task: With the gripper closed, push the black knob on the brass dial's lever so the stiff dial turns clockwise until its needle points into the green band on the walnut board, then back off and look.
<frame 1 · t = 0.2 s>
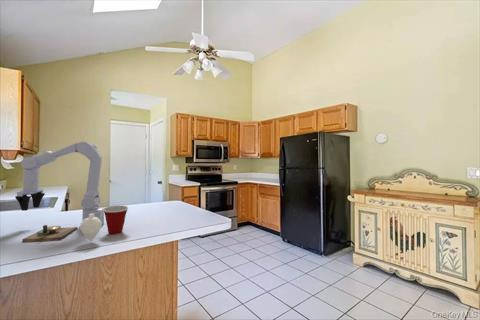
hand: (30, 208, 115), 10 cm above the counter, tool pointing down, fingers open, 7 cm apart
dial board: (52, 235, 106), on the counter
cream vase: (90, 243, 97), on the counter
dial: (50, 226, 104), point 4 cm above the counter, hinge at 0.0°
plastic cup: (115, 233, 111), on the counter
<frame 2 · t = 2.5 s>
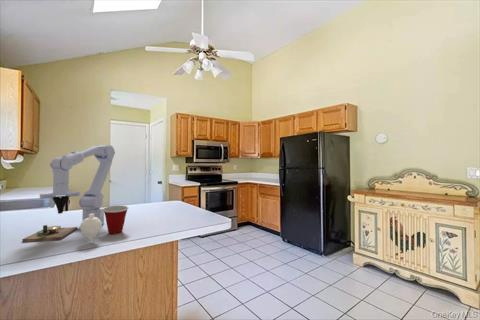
hand: (60, 213, 106), 10 cm above the counter, tool pointing down, fingers closed
nothing on the counter moved.
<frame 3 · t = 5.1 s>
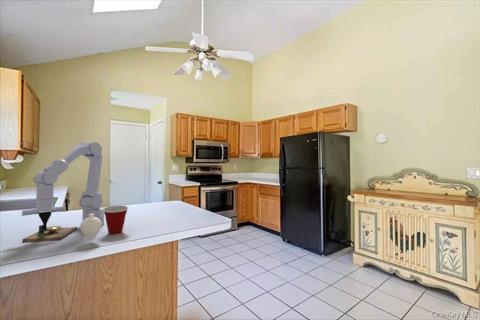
hand: (44, 229, 101), 4 cm above the counter, tool pointing down, fingers closed, pressing on dial
dial: (49, 226, 104), point 4 cm above the counter, hinge at -15.8°, touching gripper
everything else where it was.
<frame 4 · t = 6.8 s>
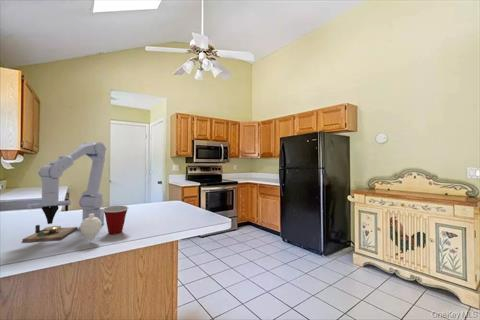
hand: (49, 223, 102), 7 cm above the counter, tool pointing down, fingers closed
dial: (48, 226, 104), point 4 cm above the counter, hinge at -32.8°
everything else where it was.
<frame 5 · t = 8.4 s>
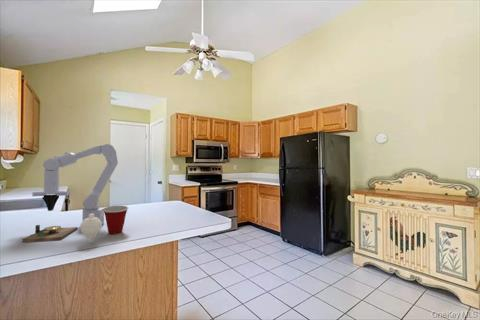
hand: (50, 210, 114), 9 cm above the counter, tool pointing down, fingers closed
nothing on the counter moved.
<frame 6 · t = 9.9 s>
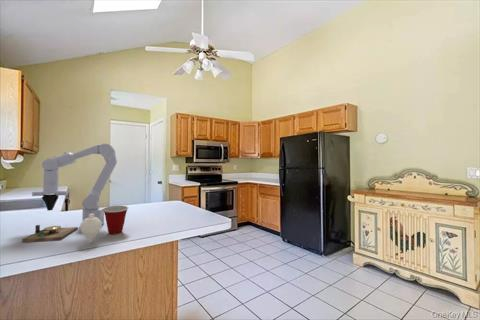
hand: (50, 210, 115), 9 cm above the counter, tool pointing down, fingers closed
nothing on the counter moved.
at the end: dial at -33° (first picture: +0°) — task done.
